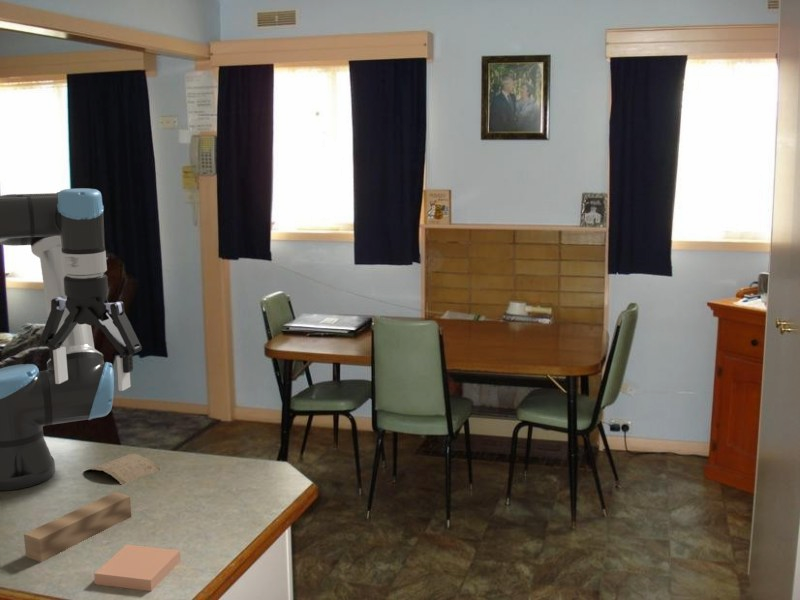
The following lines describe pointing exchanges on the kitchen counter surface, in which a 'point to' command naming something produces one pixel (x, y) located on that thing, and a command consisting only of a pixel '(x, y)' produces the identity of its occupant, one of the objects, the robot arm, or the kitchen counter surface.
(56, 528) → the walnut stick
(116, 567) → the terracotta tile
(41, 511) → the kitchen counter surface
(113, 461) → the curved brown bark piece
